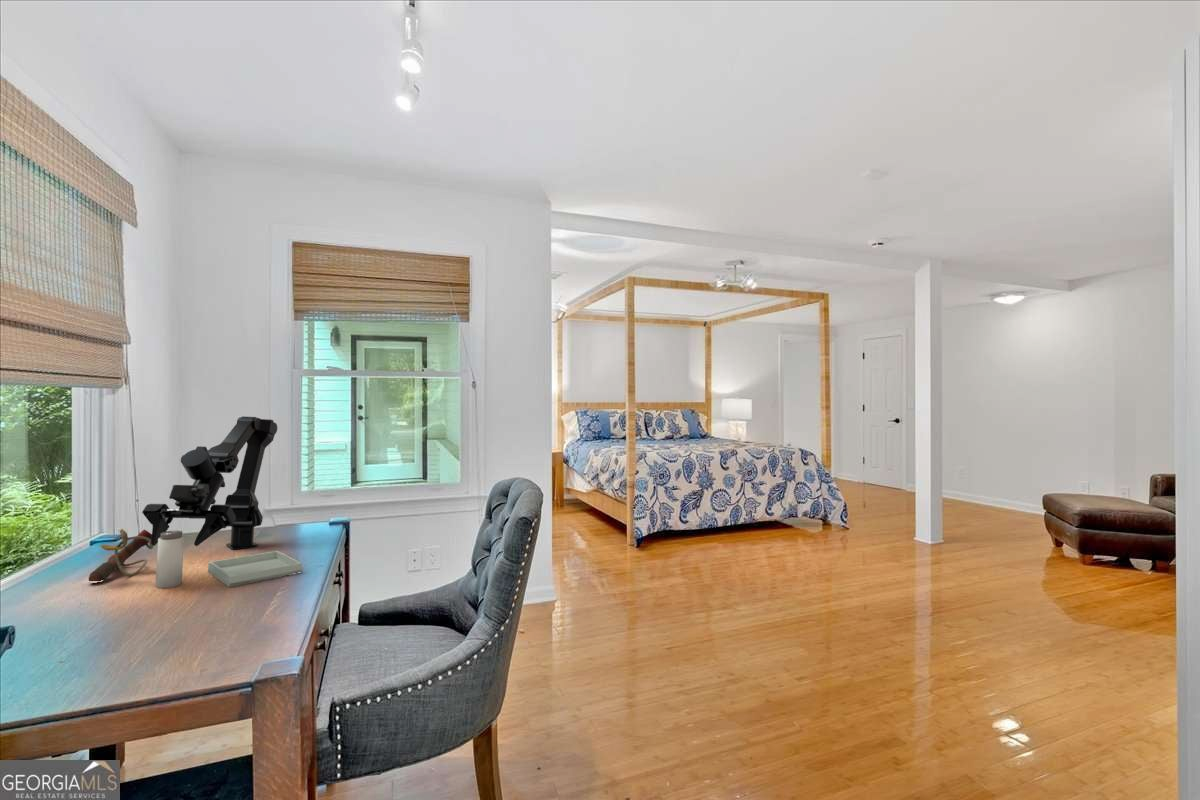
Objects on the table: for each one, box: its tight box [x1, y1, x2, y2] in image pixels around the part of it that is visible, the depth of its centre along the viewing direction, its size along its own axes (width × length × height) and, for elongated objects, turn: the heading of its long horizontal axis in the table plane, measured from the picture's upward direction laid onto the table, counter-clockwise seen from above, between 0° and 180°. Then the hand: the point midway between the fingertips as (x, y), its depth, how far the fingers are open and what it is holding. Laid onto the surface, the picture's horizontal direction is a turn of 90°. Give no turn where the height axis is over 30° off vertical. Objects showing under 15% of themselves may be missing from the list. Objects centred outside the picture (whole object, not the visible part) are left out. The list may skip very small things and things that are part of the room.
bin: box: [207, 550, 303, 588], centre depth 138 cm, size 16×16×2 cm
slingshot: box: [88, 528, 154, 582], centre depth 131 cm, size 17×10×15 cm
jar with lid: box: [155, 530, 185, 589], centre depth 126 cm, size 5×5×12 cm
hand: (174, 545), depth 128 cm, fingers open, 9 cm apart
